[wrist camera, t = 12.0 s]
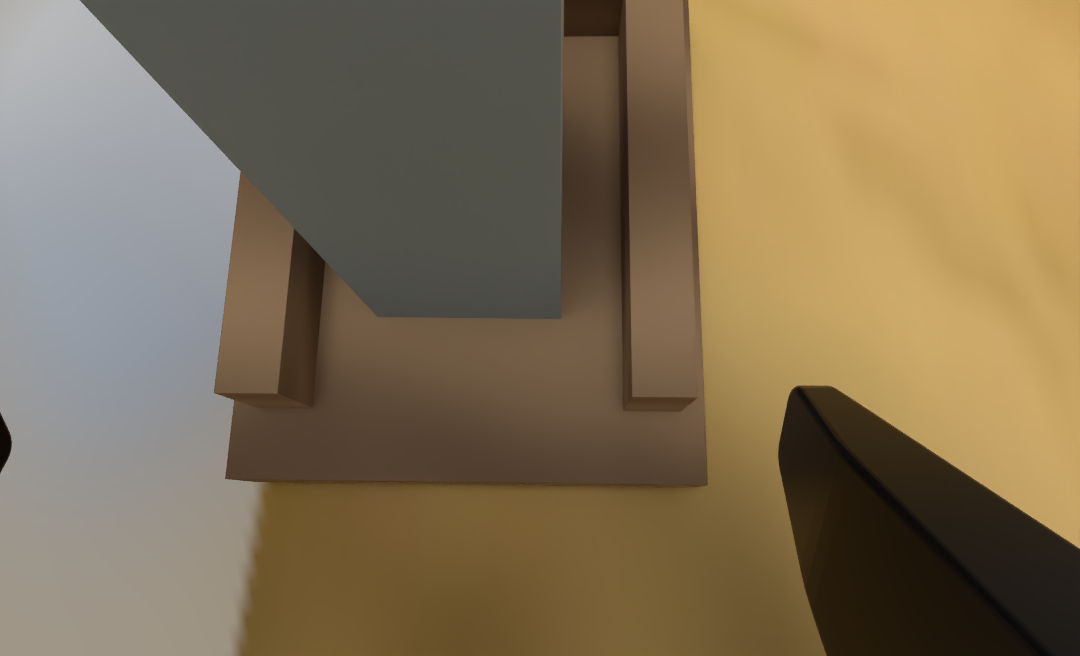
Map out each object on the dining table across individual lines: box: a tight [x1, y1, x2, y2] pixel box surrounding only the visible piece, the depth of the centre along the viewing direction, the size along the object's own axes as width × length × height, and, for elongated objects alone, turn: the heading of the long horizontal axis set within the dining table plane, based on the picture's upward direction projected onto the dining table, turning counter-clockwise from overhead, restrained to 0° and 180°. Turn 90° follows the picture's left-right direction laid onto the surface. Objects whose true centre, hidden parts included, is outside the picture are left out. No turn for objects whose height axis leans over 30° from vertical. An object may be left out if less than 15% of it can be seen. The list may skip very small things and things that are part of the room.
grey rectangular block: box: [80, 0, 564, 319], centre depth 11 cm, size 5×4×12 cm
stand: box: [214, 0, 708, 487], centre depth 16 cm, size 12×10×4 cm
